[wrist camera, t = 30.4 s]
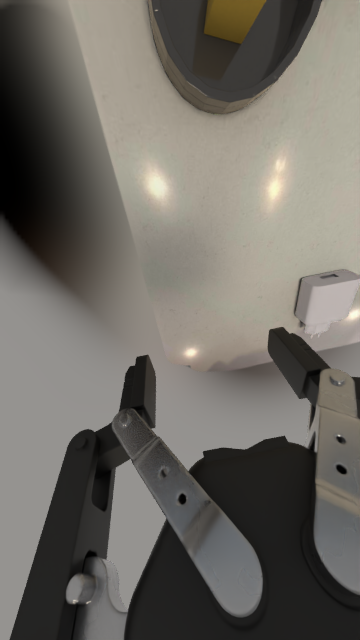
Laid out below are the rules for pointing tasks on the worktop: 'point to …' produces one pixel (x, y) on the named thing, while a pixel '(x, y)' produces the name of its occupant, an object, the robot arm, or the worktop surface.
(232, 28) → the cheese
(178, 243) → the worktop surface
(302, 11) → the pan
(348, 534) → the robot arm
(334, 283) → the charger
